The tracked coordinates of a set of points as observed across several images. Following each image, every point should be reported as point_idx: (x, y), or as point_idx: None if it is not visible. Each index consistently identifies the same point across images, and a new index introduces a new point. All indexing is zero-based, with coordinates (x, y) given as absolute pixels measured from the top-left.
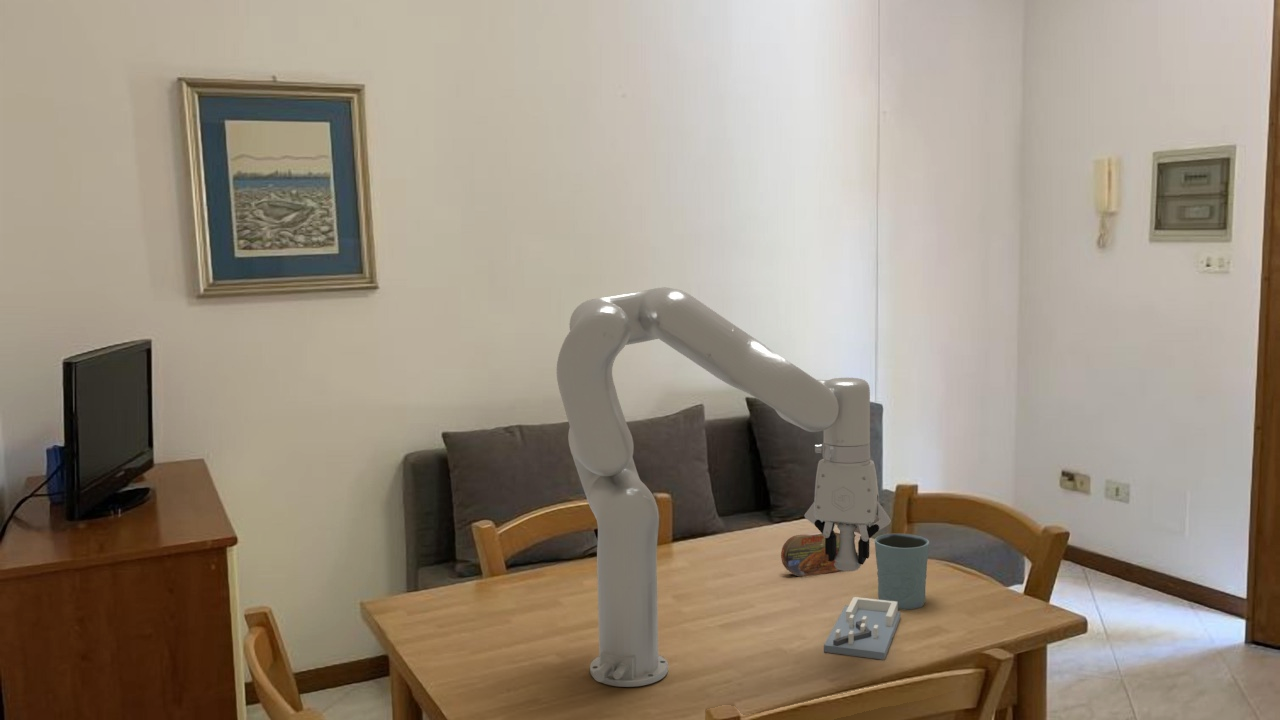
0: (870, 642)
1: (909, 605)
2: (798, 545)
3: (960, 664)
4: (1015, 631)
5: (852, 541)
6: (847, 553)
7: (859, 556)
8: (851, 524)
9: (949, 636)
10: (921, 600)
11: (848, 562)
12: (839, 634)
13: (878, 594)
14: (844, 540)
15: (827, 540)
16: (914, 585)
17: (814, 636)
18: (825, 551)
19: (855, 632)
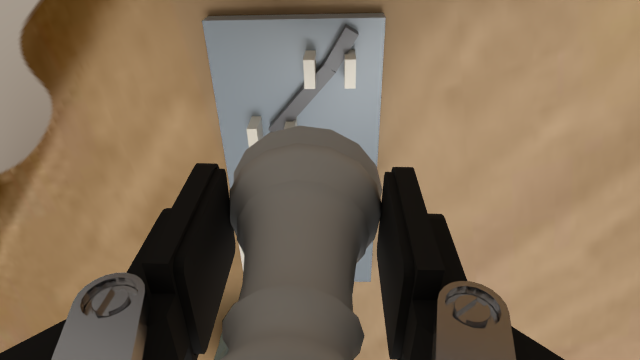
0: (260, 84)
1: None
2: None
3: (23, 56)
4: (17, 265)
5: (245, 284)
6: (286, 202)
7: (203, 188)
8: None
9: (119, 208)
10: (221, 335)
11: (279, 152)
12: (344, 66)
13: None
14: (304, 275)
15: (447, 278)
16: (222, 357)
17: (423, 116)
18: (444, 221)
19: None
